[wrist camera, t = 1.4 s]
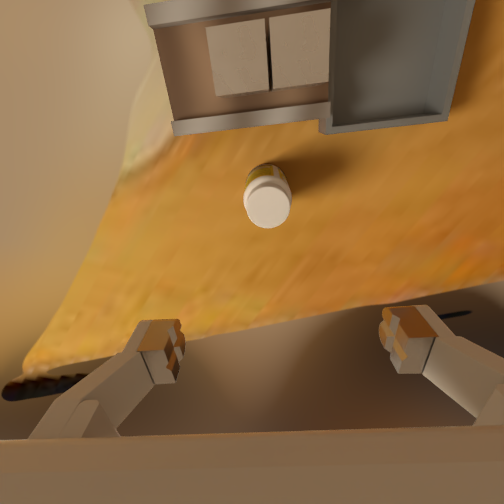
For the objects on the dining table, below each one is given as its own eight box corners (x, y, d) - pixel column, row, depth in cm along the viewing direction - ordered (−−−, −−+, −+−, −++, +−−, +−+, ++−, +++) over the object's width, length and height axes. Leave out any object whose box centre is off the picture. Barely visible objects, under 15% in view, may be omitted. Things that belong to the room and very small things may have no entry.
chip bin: (459, -47, 21) (492, -73, 18) (426, 119, 26) (447, 120, 24) (321, -24, 22) (330, -45, 19) (318, 132, 27) (325, 134, 24)
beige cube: (318, 25, 20) (330, 8, 17) (317, 85, 22) (328, 81, 19) (267, 33, 20) (268, 17, 17) (271, 91, 22) (273, 88, 19)
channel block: (320, 0, 22) (334, -27, 18) (318, 116, 27) (330, 117, 22) (165, 24, 23) (143, 5, 19) (188, 131, 28) (174, 136, 23)
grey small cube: (264, 33, 20) (264, 18, 17) (267, 92, 22) (269, 89, 19) (214, 41, 21) (205, 27, 17) (223, 98, 23) (215, 96, 19)
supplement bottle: (240, 193, 31) (233, 219, 24) (256, 156, 29) (254, 172, 21) (275, 209, 32) (279, 239, 24) (293, 174, 30) (304, 195, 22)
